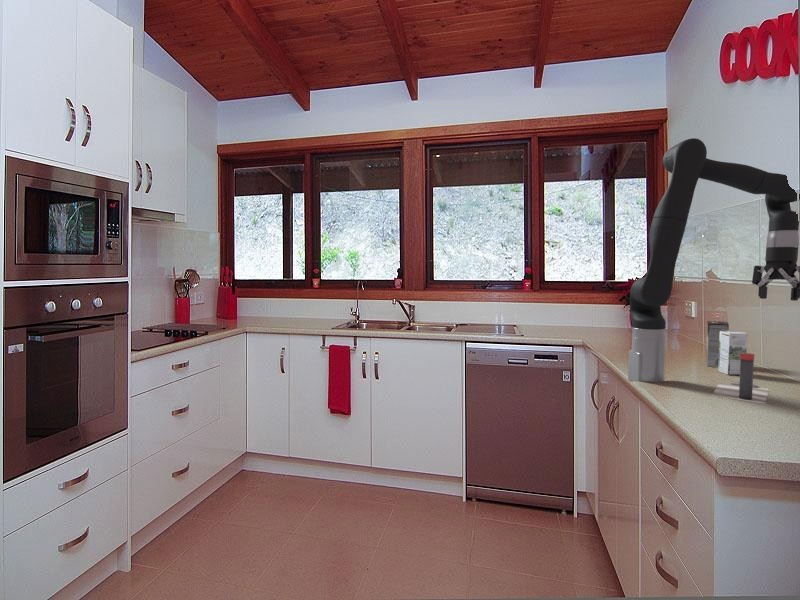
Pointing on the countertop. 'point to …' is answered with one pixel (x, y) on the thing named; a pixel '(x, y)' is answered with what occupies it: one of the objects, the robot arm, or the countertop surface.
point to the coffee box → (714, 341)
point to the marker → (746, 376)
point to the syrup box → (731, 351)
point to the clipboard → (733, 392)
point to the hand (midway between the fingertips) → (778, 299)
